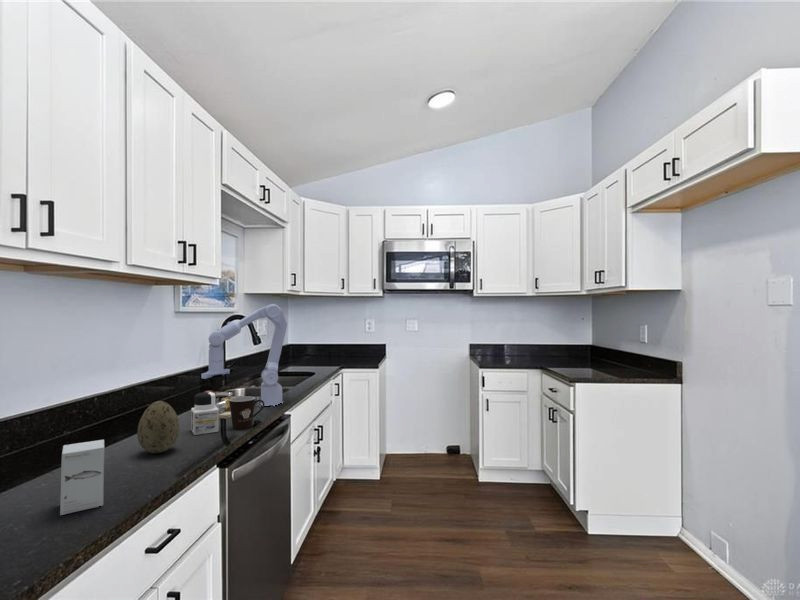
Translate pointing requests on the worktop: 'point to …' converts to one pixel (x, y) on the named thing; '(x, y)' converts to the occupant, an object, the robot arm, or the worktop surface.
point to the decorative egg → (158, 427)
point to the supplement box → (82, 476)
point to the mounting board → (225, 414)
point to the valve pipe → (224, 404)
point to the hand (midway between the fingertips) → (215, 393)
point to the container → (204, 414)
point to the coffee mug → (243, 412)
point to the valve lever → (221, 393)
